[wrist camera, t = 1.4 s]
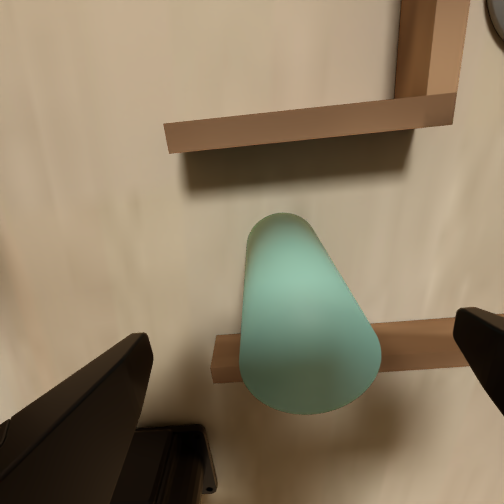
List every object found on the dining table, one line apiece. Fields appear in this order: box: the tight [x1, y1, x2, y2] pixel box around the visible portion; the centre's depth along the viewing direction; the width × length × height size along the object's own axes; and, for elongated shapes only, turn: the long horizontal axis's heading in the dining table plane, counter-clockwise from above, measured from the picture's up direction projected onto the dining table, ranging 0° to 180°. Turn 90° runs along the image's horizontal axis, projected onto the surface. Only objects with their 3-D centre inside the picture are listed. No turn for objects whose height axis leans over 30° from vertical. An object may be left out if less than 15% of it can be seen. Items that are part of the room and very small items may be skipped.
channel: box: [164, 0, 504, 384], centre depth 12 cm, size 20×21×2 cm
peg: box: [239, 213, 381, 415], centre depth 11 cm, size 4×4×8 cm
